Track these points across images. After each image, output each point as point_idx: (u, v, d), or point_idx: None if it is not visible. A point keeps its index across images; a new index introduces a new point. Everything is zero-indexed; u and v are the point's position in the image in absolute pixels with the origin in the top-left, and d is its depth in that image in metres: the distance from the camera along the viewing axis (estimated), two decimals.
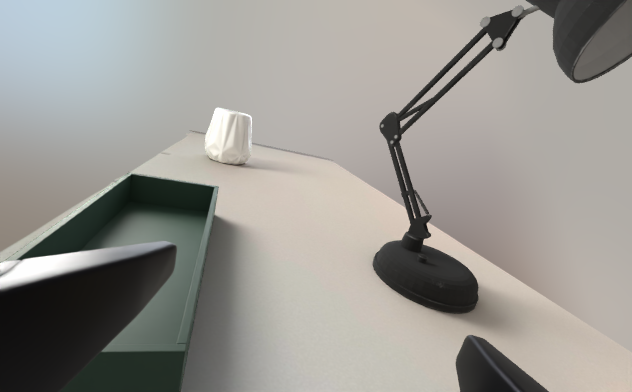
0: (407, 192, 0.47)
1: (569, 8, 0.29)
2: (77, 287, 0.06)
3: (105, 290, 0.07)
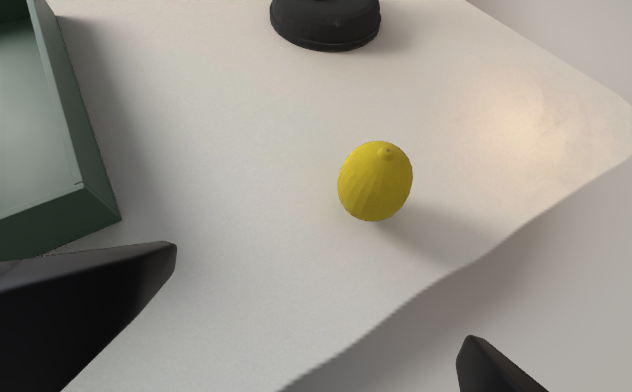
0: None
1: None
2: (77, 287, 0.06)
3: (105, 290, 0.07)
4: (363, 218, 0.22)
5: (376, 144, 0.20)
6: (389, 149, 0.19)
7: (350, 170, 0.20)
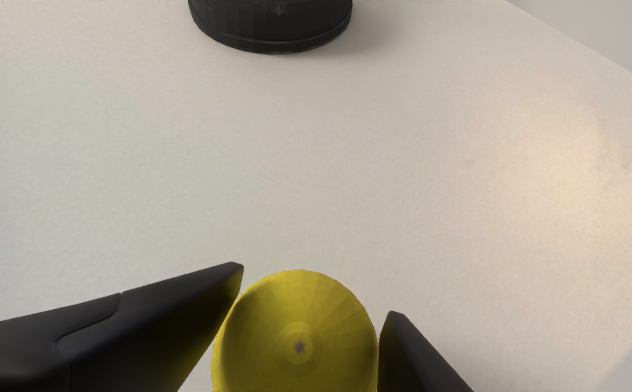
0: None
1: None
2: (176, 320, 0.06)
3: (194, 319, 0.06)
4: None
5: (281, 306, 0.08)
6: (305, 341, 0.07)
7: (216, 371, 0.08)
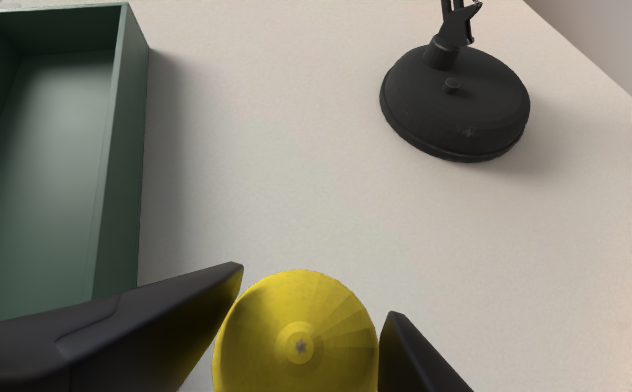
0: None
1: None
2: (176, 320, 0.06)
3: (194, 319, 0.06)
4: None
5: (282, 305, 0.08)
6: (306, 341, 0.07)
7: (216, 370, 0.08)
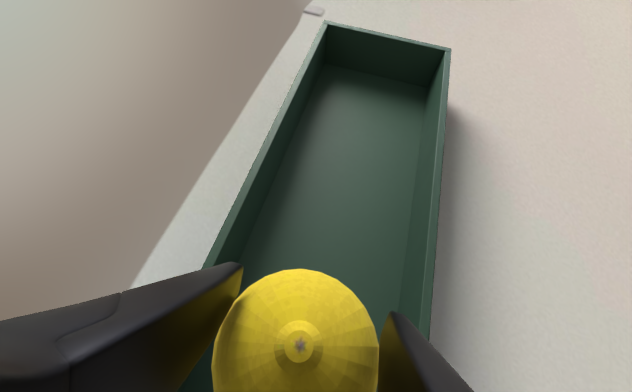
0: None
1: None
2: (176, 320, 0.06)
3: (194, 319, 0.06)
4: None
5: (281, 304, 0.08)
6: (305, 340, 0.07)
7: (216, 369, 0.08)
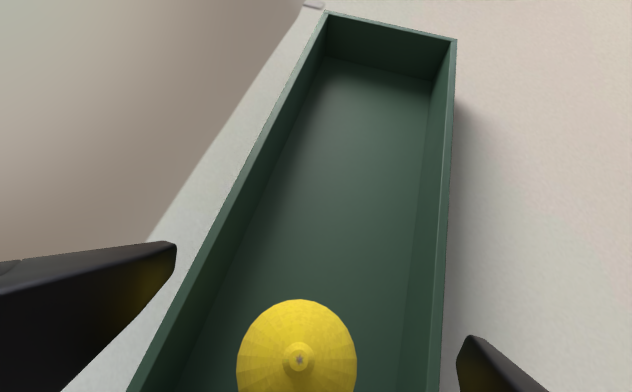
0: None
1: None
2: (77, 287, 0.06)
3: (105, 290, 0.07)
4: None
5: (287, 330, 0.11)
6: (303, 356, 0.10)
7: (241, 375, 0.11)
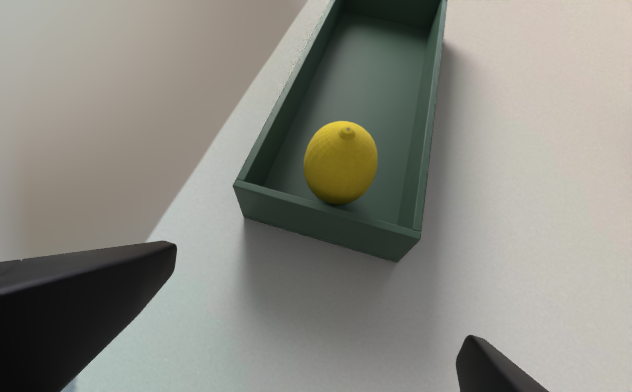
0: None
1: None
2: (77, 287, 0.06)
3: (105, 290, 0.07)
4: (329, 201, 0.22)
5: (338, 123, 0.20)
6: (350, 128, 0.19)
7: (312, 151, 0.20)
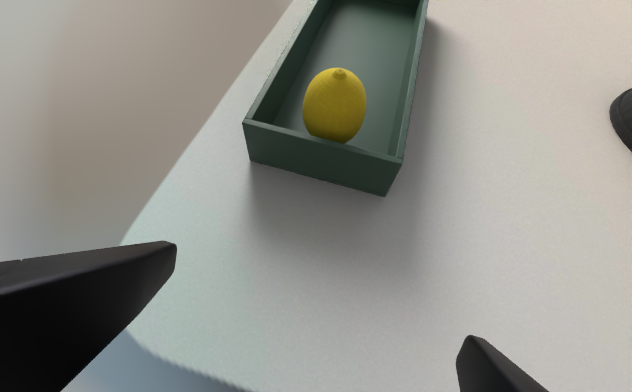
0: None
1: None
2: (77, 287, 0.06)
3: (105, 290, 0.07)
4: None
5: (332, 68, 0.23)
6: (341, 69, 0.22)
7: (310, 92, 0.23)
